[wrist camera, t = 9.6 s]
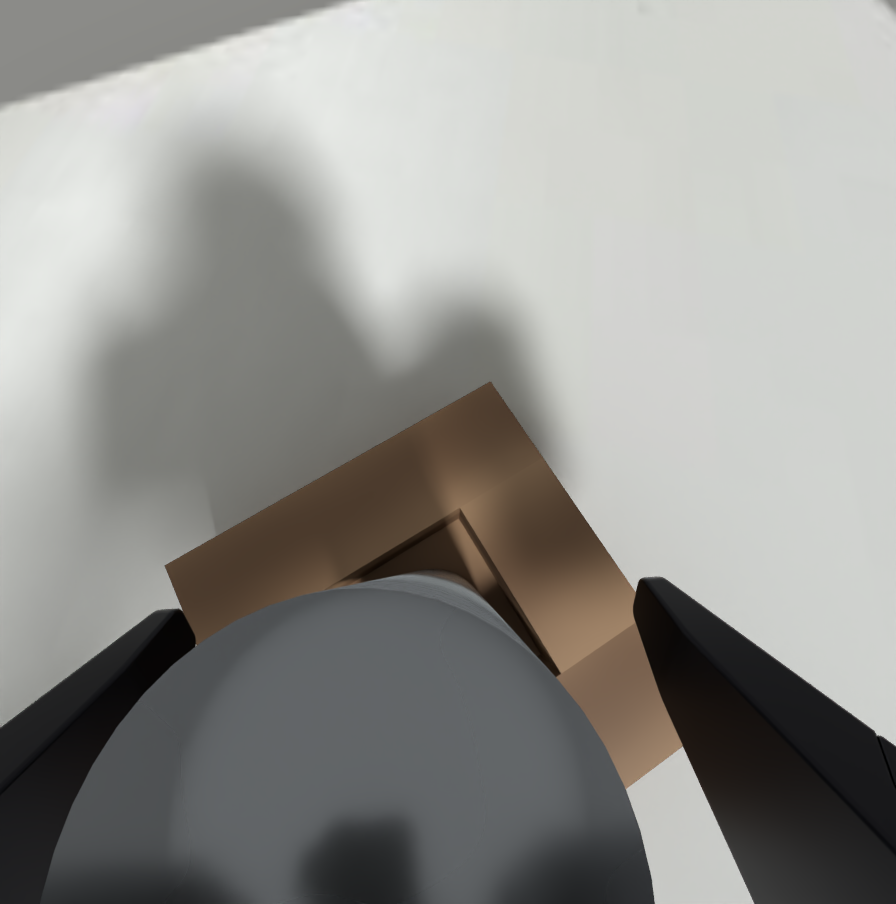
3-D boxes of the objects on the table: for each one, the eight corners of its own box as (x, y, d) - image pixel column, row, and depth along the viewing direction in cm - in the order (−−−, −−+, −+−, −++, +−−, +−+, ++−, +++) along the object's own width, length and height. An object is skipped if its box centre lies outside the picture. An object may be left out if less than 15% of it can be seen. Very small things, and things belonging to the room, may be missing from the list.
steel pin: (508, 607, 15) (756, 798, 3) (451, 711, 15) (443, 1635, 2) (416, 548, 16) (288, 491, 3) (356, 645, 15) (-110, 1042, 3)
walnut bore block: (661, 684, 15) (721, 717, 12) (367, 896, 14) (340, 1003, 10) (483, 416, 18) (490, 381, 15) (223, 566, 16) (164, 565, 13)
